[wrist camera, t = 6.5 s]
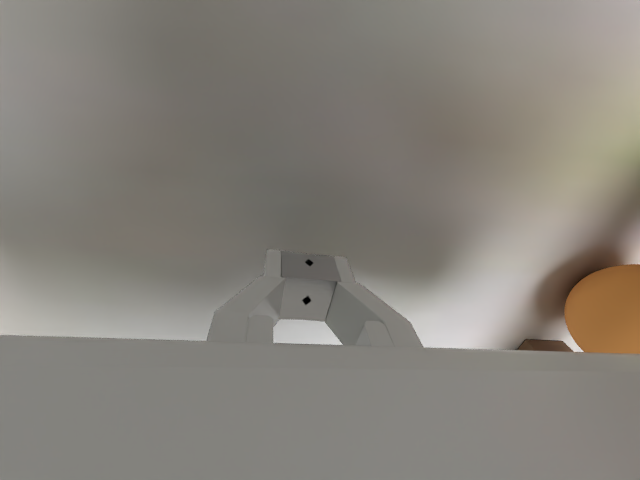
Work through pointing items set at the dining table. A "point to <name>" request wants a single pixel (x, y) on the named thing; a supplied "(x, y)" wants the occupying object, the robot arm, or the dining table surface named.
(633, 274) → the ball
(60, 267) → the dining table surface
